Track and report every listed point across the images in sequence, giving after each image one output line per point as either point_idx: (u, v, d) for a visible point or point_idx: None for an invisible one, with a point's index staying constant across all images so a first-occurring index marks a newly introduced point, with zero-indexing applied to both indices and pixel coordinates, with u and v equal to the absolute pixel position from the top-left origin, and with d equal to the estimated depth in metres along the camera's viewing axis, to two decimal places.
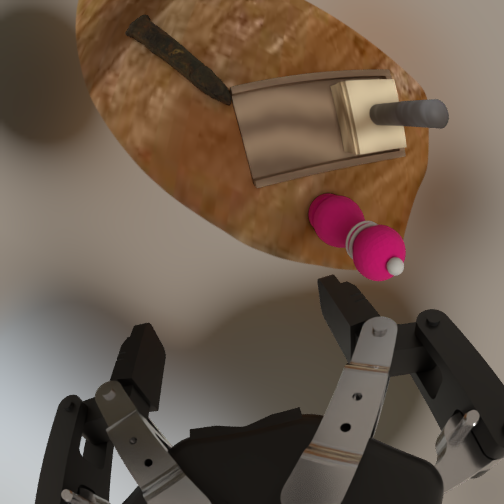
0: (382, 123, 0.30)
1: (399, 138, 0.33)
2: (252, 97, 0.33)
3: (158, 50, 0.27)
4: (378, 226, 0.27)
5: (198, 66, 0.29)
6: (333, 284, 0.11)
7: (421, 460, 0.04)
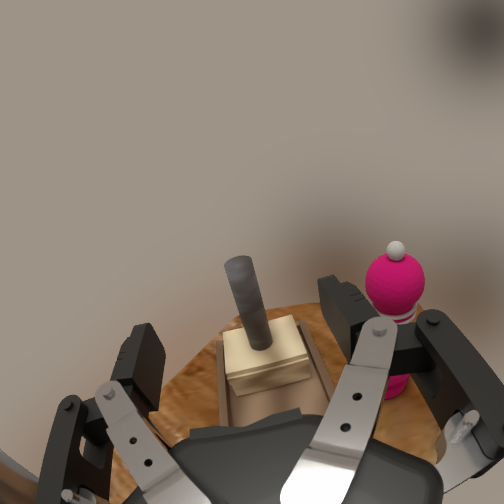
0: (268, 334, 0.33)
1: (283, 321, 0.38)
2: None
3: None
4: (367, 291, 0.24)
5: None
6: (333, 284, 0.11)
7: (421, 459, 0.04)
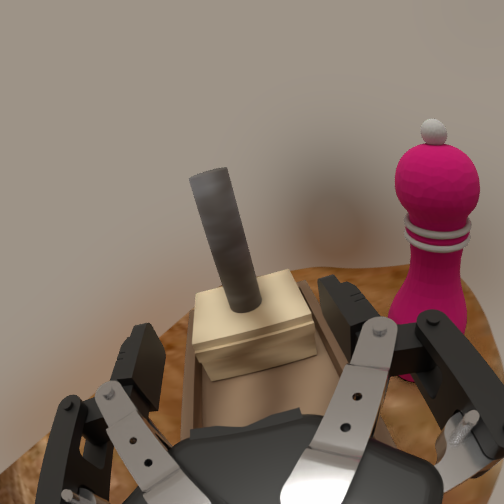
0: (254, 287, 0.24)
1: (278, 277, 0.28)
2: None
3: None
4: (402, 193, 0.15)
5: None
6: (333, 284, 0.11)
7: (421, 459, 0.04)
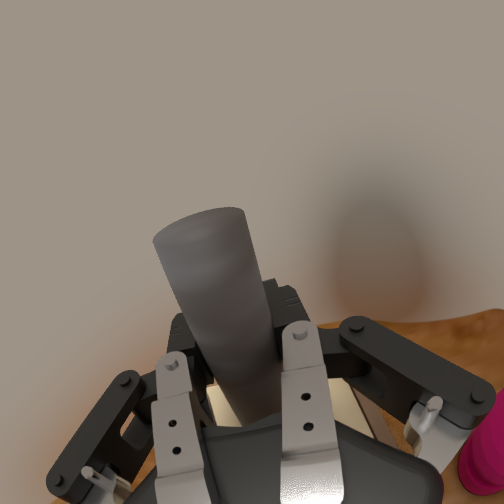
0: None
1: None
2: None
3: None
4: None
5: None
6: (271, 287, 0.12)
7: (421, 460, 0.04)
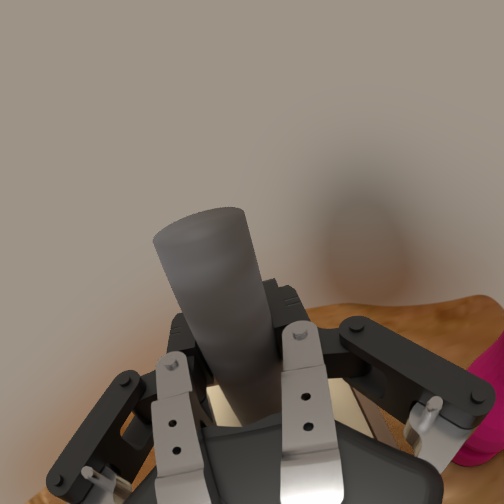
0: None
1: None
2: None
3: None
4: None
5: None
6: (271, 287, 0.12)
7: (421, 460, 0.04)
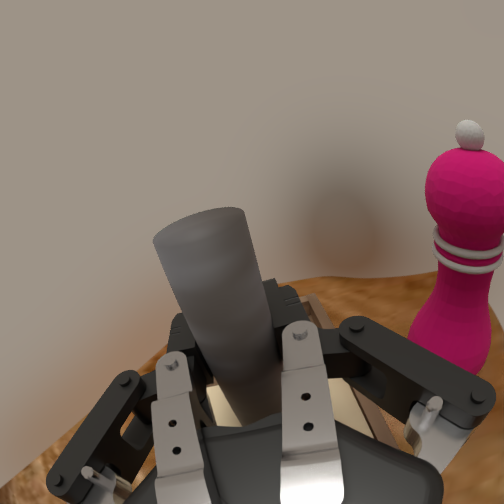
0: None
1: None
2: None
3: None
4: (436, 206, 0.12)
5: None
6: (271, 287, 0.12)
7: (421, 460, 0.04)
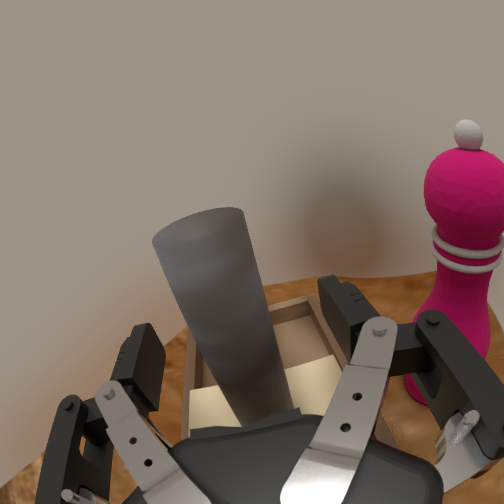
0: None
1: (318, 372, 0.16)
2: None
3: None
4: (435, 206, 0.12)
5: None
6: (333, 284, 0.11)
7: (421, 460, 0.04)
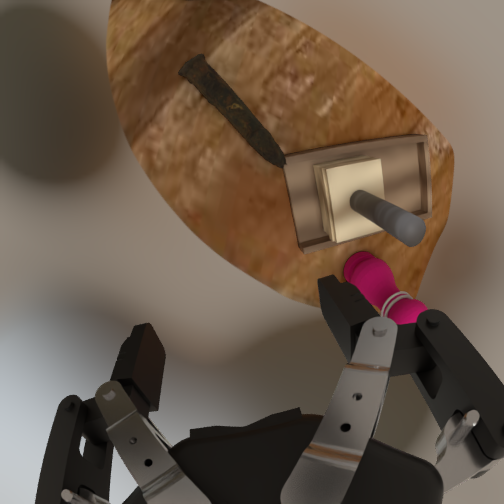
0: (361, 214, 0.33)
1: None
2: (303, 165, 0.37)
3: (215, 101, 0.30)
4: (411, 302, 0.30)
5: (257, 127, 0.32)
6: (333, 284, 0.11)
7: (421, 460, 0.04)
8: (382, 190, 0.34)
